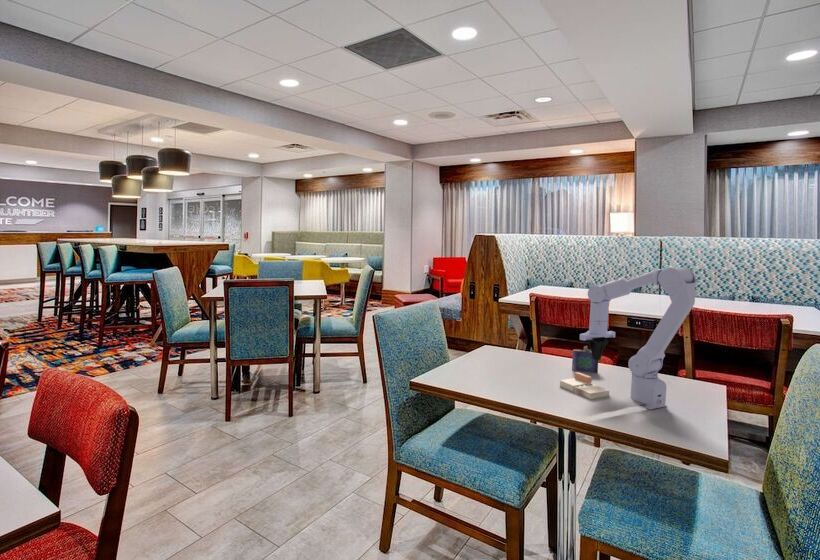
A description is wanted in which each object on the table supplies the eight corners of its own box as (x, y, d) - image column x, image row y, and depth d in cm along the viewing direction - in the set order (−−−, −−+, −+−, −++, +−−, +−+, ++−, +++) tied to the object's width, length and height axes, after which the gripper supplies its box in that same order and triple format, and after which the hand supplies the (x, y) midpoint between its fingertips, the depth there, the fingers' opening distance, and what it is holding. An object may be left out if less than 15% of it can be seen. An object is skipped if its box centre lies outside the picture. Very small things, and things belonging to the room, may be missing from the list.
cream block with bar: (591, 388, 153) (591, 377, 153) (572, 391, 150) (573, 379, 149) (577, 383, 158) (578, 372, 158) (559, 386, 155) (560, 374, 155)
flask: (571, 373, 175) (572, 345, 174) (572, 371, 177) (573, 344, 176) (597, 376, 171) (599, 348, 170) (597, 374, 173) (599, 346, 172)
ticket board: (616, 399, 146) (616, 390, 146) (568, 408, 138) (568, 398, 138) (578, 384, 161) (578, 376, 160) (533, 391, 152) (533, 382, 152)
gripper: (604, 317, 162) (602, 354, 164) (573, 319, 156) (571, 358, 158) (621, 320, 156) (618, 359, 157) (589, 323, 150) (587, 363, 151)
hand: (596, 359), depth 157 cm, fingers closed
